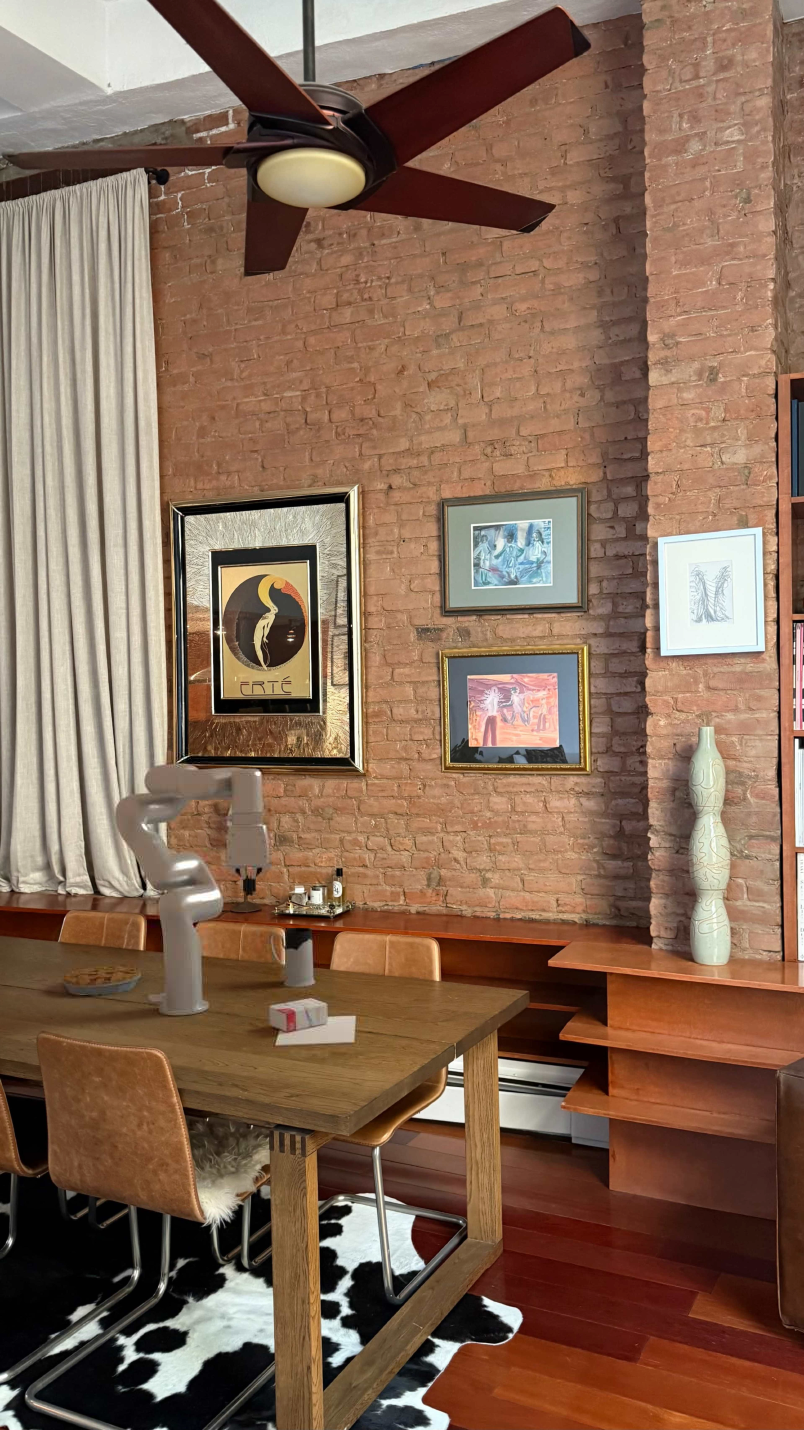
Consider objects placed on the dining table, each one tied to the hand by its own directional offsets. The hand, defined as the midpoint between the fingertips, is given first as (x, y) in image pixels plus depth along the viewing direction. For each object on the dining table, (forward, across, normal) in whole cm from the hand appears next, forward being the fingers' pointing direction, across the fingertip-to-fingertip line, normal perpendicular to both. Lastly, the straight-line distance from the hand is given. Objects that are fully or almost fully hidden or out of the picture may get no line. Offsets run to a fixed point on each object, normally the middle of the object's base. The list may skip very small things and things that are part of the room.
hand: (249, 894), depth 267 cm
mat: (+32, +16, -6) cm, 36 cm away
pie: (+32, -48, +46) cm, 74 cm away
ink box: (+29, +6, -5) cm, 30 cm away
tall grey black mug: (+32, +6, +44) cm, 55 cm away
